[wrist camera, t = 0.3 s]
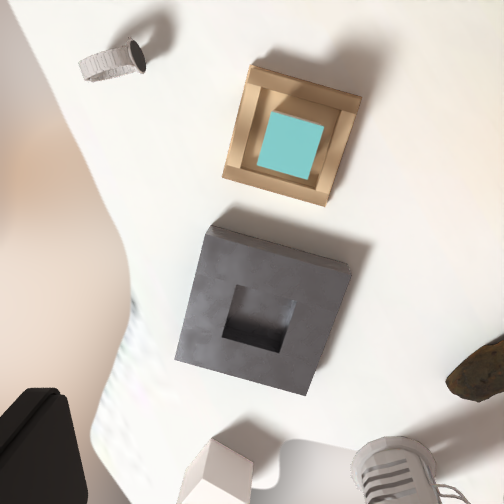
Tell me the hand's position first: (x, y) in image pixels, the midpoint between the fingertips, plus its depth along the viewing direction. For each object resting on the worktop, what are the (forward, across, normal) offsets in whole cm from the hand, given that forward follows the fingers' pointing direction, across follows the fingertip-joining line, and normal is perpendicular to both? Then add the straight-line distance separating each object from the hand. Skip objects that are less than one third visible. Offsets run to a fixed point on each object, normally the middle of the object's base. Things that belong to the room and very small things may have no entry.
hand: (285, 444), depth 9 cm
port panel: (+34, +3, +13) cm, 36 cm away
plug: (+33, 0, -4) cm, 33 cm away
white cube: (+34, +9, +34) cm, 49 cm away
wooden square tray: (+34, 0, -4) cm, 34 cm away
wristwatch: (+34, +14, -11) cm, 38 cm away
